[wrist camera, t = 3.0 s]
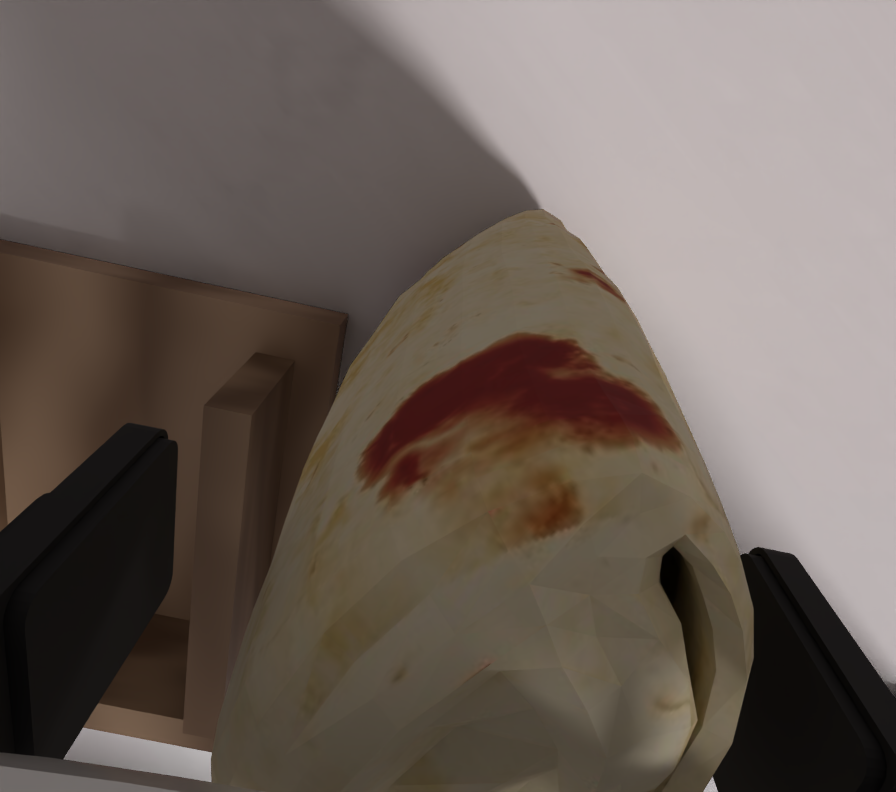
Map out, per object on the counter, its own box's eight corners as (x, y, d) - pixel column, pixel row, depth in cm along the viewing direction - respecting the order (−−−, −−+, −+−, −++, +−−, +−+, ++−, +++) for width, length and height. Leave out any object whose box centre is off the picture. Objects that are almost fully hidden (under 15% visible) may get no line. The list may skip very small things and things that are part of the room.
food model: (485, 153, 23) (480, 300, 5) (630, 265, 24) (1061, 720, 6) (340, 363, 27) (11, 916, 8) (473, 452, 28) (446, 1105, 10)
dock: (348, 314, 26) (306, 374, 20) (296, 657, 33) (253, 777, 27) (-64, 225, 25) (-234, 259, 19) (-26, 593, 32) (-142, 701, 26)
